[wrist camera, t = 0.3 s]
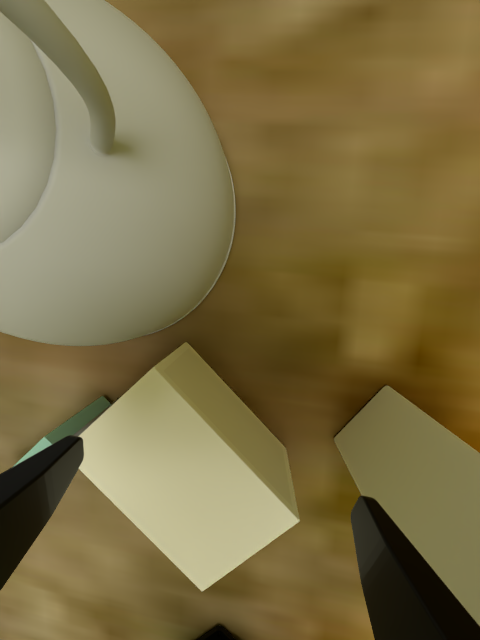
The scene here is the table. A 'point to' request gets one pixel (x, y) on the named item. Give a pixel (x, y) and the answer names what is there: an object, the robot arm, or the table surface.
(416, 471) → the milk carton
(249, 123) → the table surface
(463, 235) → the table surface
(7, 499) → the robot arm
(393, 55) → the table surface
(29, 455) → the door
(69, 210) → the kettle
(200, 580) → the cupboard
